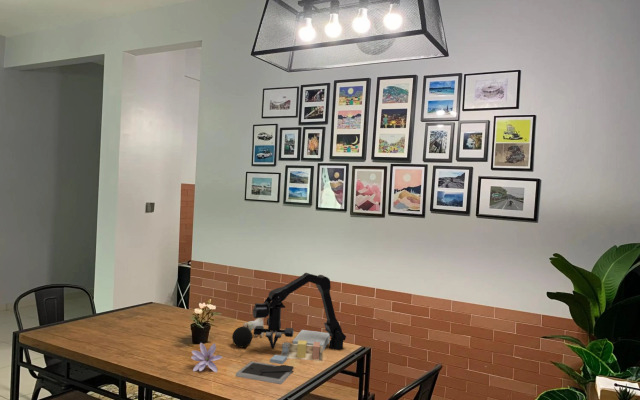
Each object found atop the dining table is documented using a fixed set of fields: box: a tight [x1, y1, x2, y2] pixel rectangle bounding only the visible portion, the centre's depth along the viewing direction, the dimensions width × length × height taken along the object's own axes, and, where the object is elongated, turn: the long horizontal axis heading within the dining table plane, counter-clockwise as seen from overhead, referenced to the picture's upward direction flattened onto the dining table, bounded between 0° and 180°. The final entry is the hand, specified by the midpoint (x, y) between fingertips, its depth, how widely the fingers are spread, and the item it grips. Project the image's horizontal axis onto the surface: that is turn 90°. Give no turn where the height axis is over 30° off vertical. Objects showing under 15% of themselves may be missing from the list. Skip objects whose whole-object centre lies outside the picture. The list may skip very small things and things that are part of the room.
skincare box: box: [291, 329, 331, 352], centre depth 252 cm, size 21×5×16 cm
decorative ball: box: [231, 326, 253, 348], centre depth 246 cm, size 10×10×10 cm
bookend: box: [281, 341, 291, 357], centre depth 234 cm, size 3×6×5 cm, turn 178°
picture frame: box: [235, 360, 295, 385], centre depth 212 cm, size 16×3×21 cm
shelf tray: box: [280, 342, 324, 362], centre depth 234 cm, size 20×10×5 cm, turn 88°
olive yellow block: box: [297, 340, 307, 358], centre depth 234 cm, size 4×6×6 cm, turn 178°
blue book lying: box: [269, 354, 288, 365], centre depth 225 cm, size 6×6×3 cm
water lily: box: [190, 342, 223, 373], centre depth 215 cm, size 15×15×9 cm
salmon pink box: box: [312, 342, 320, 359], centre depth 233 cm, size 3×7×6 cm, turn 178°
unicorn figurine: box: [242, 318, 265, 339], centre depth 261 cm, size 7×20×13 cm, turn 153°
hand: (272, 349), depth 234 cm, fingers closed
